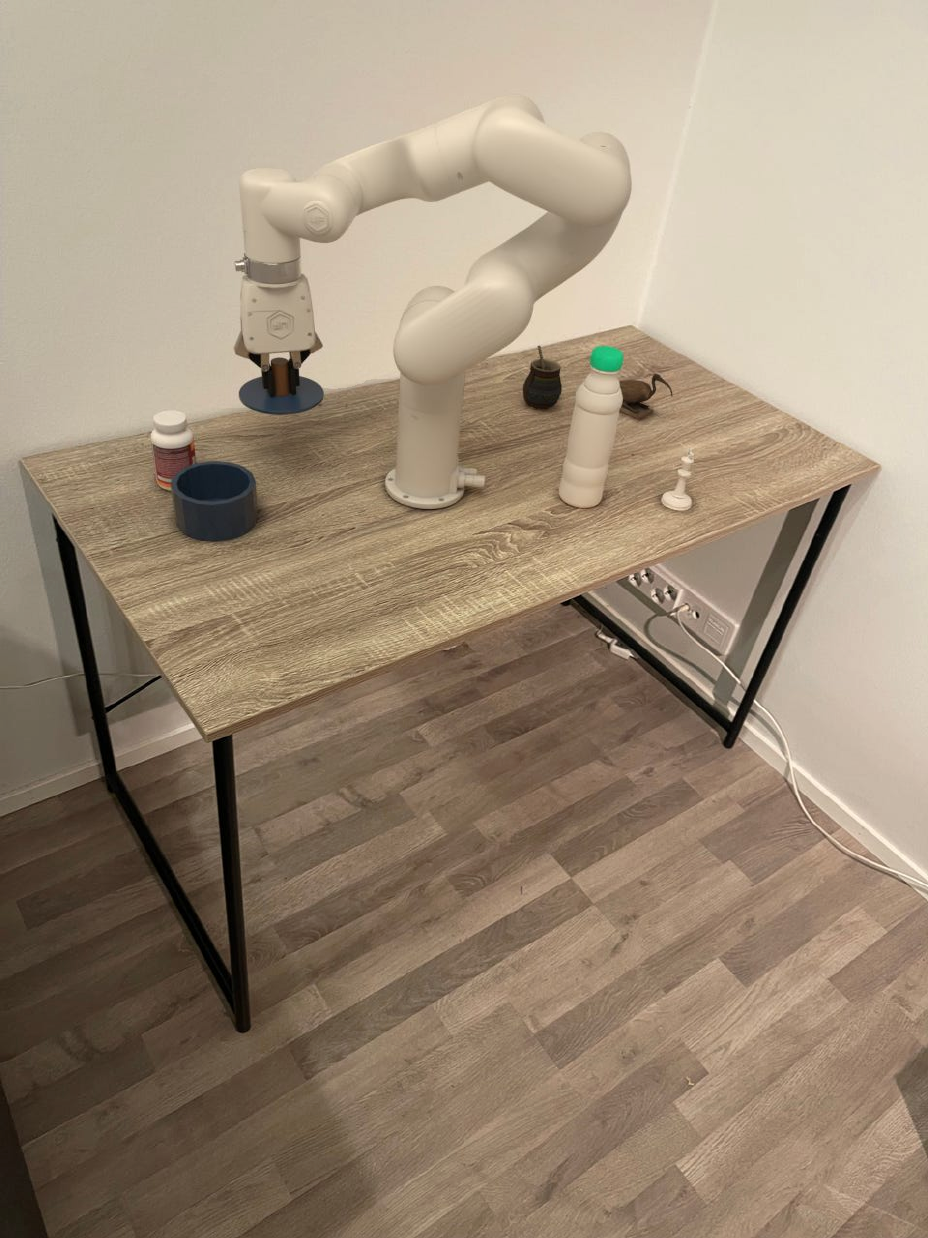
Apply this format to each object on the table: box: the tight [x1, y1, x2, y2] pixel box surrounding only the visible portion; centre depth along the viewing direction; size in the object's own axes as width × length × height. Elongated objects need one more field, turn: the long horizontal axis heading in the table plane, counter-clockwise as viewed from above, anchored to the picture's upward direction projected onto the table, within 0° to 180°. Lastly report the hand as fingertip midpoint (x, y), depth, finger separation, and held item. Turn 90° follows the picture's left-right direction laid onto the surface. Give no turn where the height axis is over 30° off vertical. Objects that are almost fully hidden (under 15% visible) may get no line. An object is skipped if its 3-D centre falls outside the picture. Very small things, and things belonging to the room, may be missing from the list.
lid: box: [238, 356, 325, 416], centre depth 139 cm, size 13×13×6 cm
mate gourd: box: [522, 345, 563, 411], centre depth 172 cm, size 7×8×10 cm
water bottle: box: [558, 345, 624, 509], centre depth 142 cm, size 7×7×25 cm
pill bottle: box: [150, 409, 197, 492], centre depth 140 cm, size 6×6×11 cm
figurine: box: [619, 373, 673, 421], centre depth 173 cm, size 14×4×9 cm, turn 47°
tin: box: [171, 460, 259, 542], centre depth 135 cm, size 12×12×6 cm
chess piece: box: [660, 447, 695, 512], centre depth 149 cm, size 5×5×10 cm
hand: (281, 390), depth 140 cm, fingers closed on lid, 2 cm apart
